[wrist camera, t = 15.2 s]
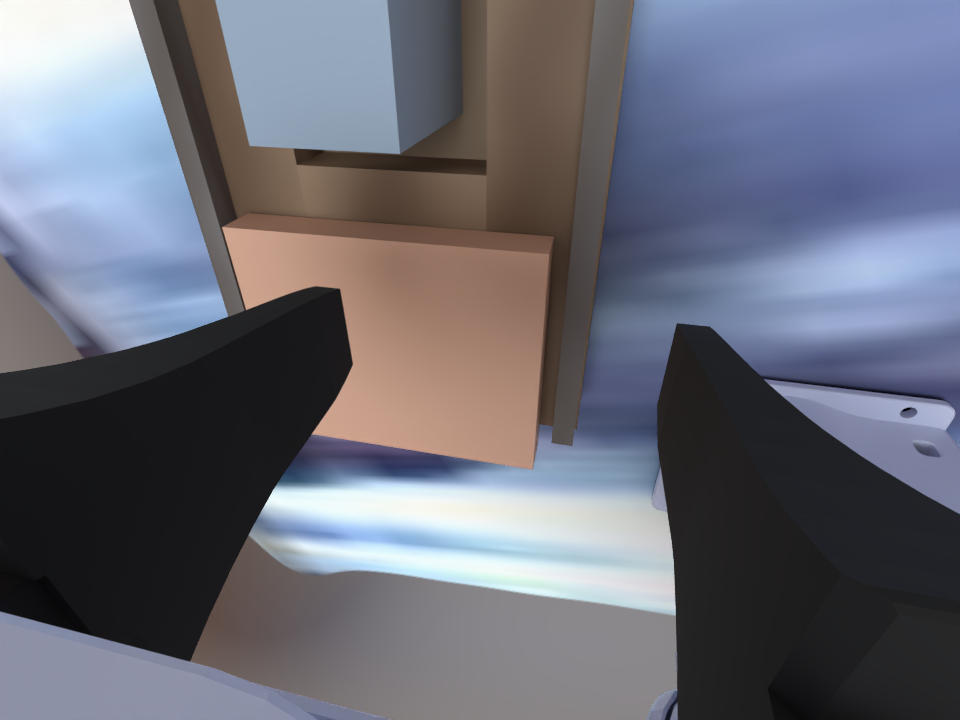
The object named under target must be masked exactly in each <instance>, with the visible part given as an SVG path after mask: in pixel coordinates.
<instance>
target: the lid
mask: <svg viewBox="0 0 960 720" xmlns="http://www.w3.org/2000/svg"><path fill="white" fill-rule="evenodd" d="M222 228H223V232H224V235H225V239H226V242H227V245H228V249H229V252H230V256H231V259H232V263H233V266H234V270H235V273H236V276H237V280H238V283H239V287H240V290H241V294H242V297H243V300H244V304H245V307H246V310H247V309H250V308H253V307H255V306H258V305H260V304H263V303H266V302H268V301H271V300H273V299H276V298H279V297H281V296H284V295H287V294H290V293H293V292H296V291H299V290H302V289H305V288H309V287H314V286H319V287H329V288H338V289H340V291H341V297H342V302H343V308H344V314H345V320H346V326H347V332H348V337H349V343H350V349H351V355H352V361H353V366H352V368H351V370H350V372H349V374H348V377H347V379H346V381H345V383H344V385H343V387H342V389H341V391H340V393H339V395H338V396H337V398H336V400H335V401H334V403H333V404H332V406H331V407H330V409H329V410H328V412H327V413H326V415H325V416H324V417H323V419H322V420H321V422H320V423H319V425H318V426H317V427H316V429H315V430H314V432H313V433H312V434H316V435H322V436H328V437H334V438H340V439H347V440H353V441H359V442H365V443H371V444H378V445H384V446H390V447H396V448H402V449H409V450H415V451H421V452H427V453H433V454H439V455H446V456H452V457H458V458H464V459H470V460H477V461H483V462H489V463H495V464H501V465H508V466H514V467H520V468H526V469H532V470H533V466H534V461H535V455H536V450H537V445H538V435H539V422H540V409H541V397H542V384H543V372H544V359H545V347H546V334H547V322H548V309H549V296H550V284H551V271H552V259H553V246H554V236H542V235H529V234H516V233H502V232H489V231H476V230H463V229H450V228H437V227H424V226H411V225H398V224H385V223H372V222H359V221H345V220H332V219H319V218H306V217H293V216H280V215H267V214H254V213H247V214H246V215H244V216H242V217H240V218H238V219H236V220H234V221H233V222H231V223H229V224H227V225H225V226H223V227H222Z"/></svg>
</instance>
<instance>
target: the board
mask: <svg viewBox="0 0 960 720" xmlns="http://www.w3.org/2000/svg"><path fill="white" fill-rule="evenodd" d="M129 2H130V5H131V8H132V12H133V15H134V18H135V21H136V24H137V27H138V31H139V34H140V37H141V40H142V43H143V46H144V50H145V53H146V56H147V59H148V62H149V66H150V69H151V72H152V75H153V78H154V81H155V85H156V88H157V91H158V94H159V97H160V100H161V104H162V107H163V110H164V113H165V116H166V119H167V123H168V126H169V129H170V132H171V135H172V139H173V142H174V145H175V148H176V151H177V154H178V158H179V161H180V164H181V167H182V170H183V173H184V177H185V180H186V183H187V186H188V189H189V192H190V196H191V199H192V202H193V205H194V208H195V212H196V215H197V218H198V221H199V224H200V227H201V231H202V234H203V237H204V240H205V243H206V246H207V250H208V253H209V256H210V259H211V262H212V265H213V269H214V272H215V275H216V278H217V281H218V285H219V288H220V291H221V294H222V297H223V300H224V304H225V307H226V310H227V313H228V316H232V315H235V314H237V313H240V312H242V311H245V310H246V307H245V304H244V300H243V297H242V294H241V290H240V287H239V283H238V280H237V276H236V273H235V270H234V266H233V263H232V259H231V256H230V252H229V249H228V245H227V242H226V239H225V235H224V232H223V228H222V227H223V226H225V225H227V224H229V223H231V222H233V221H234V220H236V219H238V218H240V217H242V216H244V215H246V214H247V213H254V214H267V215H280V216H293V217H306V218H319V219H332V220H345V221H359V222H372V223H385V224H398V225H411V226H424V227H437V228H450V229H463V230H476V231H489V232H502V233H516V234H529V235H542V236H554V246H553V259H552V271H551V284H550V296H549V309H548V322H547V334H546V347H545V359H544V372H543V384H542V397H541V409H540V422H539V424H542V425H549V426H553V433H552V443H556V444H562V445H569V446H572V443H573V436H574V429H577V423H578V415H579V408H580V400H581V393H582V385H583V378H584V370H585V363H586V355H587V348H588V340H589V333H590V325H591V318H592V311H593V303H594V296H595V288H596V281H597V273H598V266H599V258H600V251H601V243H602V236H603V228H604V221H605V213H606V206H607V198H608V191H609V183H610V176H611V168H612V161H613V154H614V146H615V139H616V131H617V124H618V116H619V109H620V101H621V94H622V86H623V79H624V71H625V64H626V56H627V49H628V41H629V34H630V26H631V19H632V11H633V4H634V0H461V36H462V94H463V114H461V115H460V116H458V117H457V118H455V119H454V120H452V121H450V122H449V123H447V124H446V125H444V126H443V127H441V128H440V129H438V130H436V131H435V132H433V133H432V134H430V135H429V136H427V137H426V138H424V139H422V140H421V141H419V142H418V143H416V144H415V145H413V146H412V147H410V148H409V149H407V150H405V151H404V152H402V153H401V154H391V153H372V152H353V151H335V150H316V149H297V148H278V147H260V146H250V145H249V141H248V137H247V133H246V129H245V124H244V120H243V116H242V112H241V107H240V103H239V99H238V95H237V90H236V86H235V82H234V78H233V73H232V69H231V65H230V61H229V56H228V52H227V48H226V44H225V39H224V35H223V31H222V27H221V23H220V18H219V14H218V10H217V6H216V1H215V0H129Z"/></svg>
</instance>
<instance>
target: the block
mask: <svg viewBox="0 0 960 720" xmlns="http://www.w3.org/2000/svg"><path fill="white" fill-rule="evenodd" d="M215 1H216V6H217V10H218V14H219V18H220V23H221V27H222V31H223V35H224V39H225V44H226V48H227V52H228V56H229V61H230V65H231V69H232V73H233V78H234V82H235V86H236V90H237V95H238V99H239V103H240V107H241V112H242V116H243V120H244V124H245V129H246V133H247V137H248V141H249V145H250V146H260V147H278V148H297V149H316V150H335V151H353V152H372V153H391V154H401V153H402V152H404V151H405V150H407V149H409V148H410V147H412V146H413V145H415V144H416V143H418V142H419V141H421V140H422V139H424V138H426V137H427V136H429V135H430V134H432V133H433V132H435V131H436V130H438V129H440V128H441V127H443V126H444V125H446V124H447V123H449V122H450V121H452V120H454V119H455V118H457V117H458V116H460V115H461V114H463V94H462V36H461V0H215Z"/></svg>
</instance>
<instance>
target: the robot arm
mask: <svg viewBox="0 0 960 720" xmlns="http://www.w3.org/2000/svg"><path fill="white" fill-rule="evenodd" d="M352 366H353V361H352V355H351V349H350V343H349V337H348V332H347V326H346V320H345V314H344V308H343V302H342V297H341V291H340V289H338V288H329V287H319V286H314V287H309V288H305V289H302V290H299V291H296V292H293V293H290V294H287V295H284V296H281V297H279V298H276V299H273V300H271V301H268V302H266V303H263V304H260V305H258V306H255V307H253V308H250V309H247V310H245V311H242V312H240V313H237V314H235V315H232V316H229V317H227V318H224V319H221V320H218V321H215V322H213V323H210V324H207V325H204V326H201V327H198V328H196V329H193V330H190V331H187V332H184V333H181V334H178V335H175V336H172V337H169V338H165V339H162V340H159V341H155V342H152V343H148V344H144V345H141V346H137V347H134V348H130V349H126V350H122V351H118V352H114V353H109V354H104V355H100V356H95V357H90V358H86V359H81V360H76V361H72V362H67V363H63V364H57V365H51V366H46V367H39V368H34V369H27V370H21V371H14V372H7V373H1V374H0V720H392V719H388V718H384V717H380V716H377V715H373V714H369V713H365V712H362V711H358V710H354V709H350V708H346V707H343V706H339V705H335V704H331V703H327V702H324V701H320V700H316V699H312V698H309V697H305V696H301V695H298V694H294V693H290V692H286V691H283V690H278V689H275V688H271V687H267V686H263V685H260V684H256V683H252V682H249V681H246V680H243V679H241V678H238V677H235V676H233V675H230V674H228V673H225V672H223V671H220V670H217V669H215V668H212V667H208V666H204V665H200V664H196V663H193V662H190V660H191V658H192V655H193V653H194V651H195V648H196V646H197V644H198V641H199V639H200V636H201V634H202V632H203V629H204V627H205V625H206V622H207V620H208V617H209V615H210V613H211V611H212V609H213V607H214V604H215V602H216V600H217V598H218V596H219V594H220V592H221V589H222V587H223V585H224V583H225V581H226V579H227V577H228V574H229V572H230V570H231V568H232V566H233V564H234V562H235V560H236V558H237V556H238V554H239V552H240V550H241V548H242V547H243V545H244V543H245V541H246V539H247V537H248V535H249V533H250V531H251V529H252V527H253V525H254V523H255V522H256V520H257V518H258V516H259V514H260V513H261V511H262V509H263V507H264V505H265V504H266V502H267V500H268V498H269V496H270V495H271V493H272V491H273V489H274V488H275V486H276V485H277V483H278V482H279V480H280V478H281V477H282V475H283V474H284V472H285V471H286V469H287V468H288V467H289V465H290V464H291V462H292V461H293V460H294V458H295V457H296V455H297V454H298V453H299V451H300V450H301V448H302V447H303V446H304V444H305V443H306V441H307V440H308V439H309V437H310V436H311V434H312V433H313V432H314V430H315V429H316V427H317V426H318V425H319V423H320V422H321V420H322V419H323V417H324V416H325V415H326V413H327V412H328V410H329V409H330V407H331V406H332V404H333V403H334V401H335V400H336V398H337V396H338V395H339V393H340V391H341V389H342V387H343V385H344V383H345V381H346V379H347V377H348V374H349V372H350V370H351V368H352ZM907 407H912V408H911V409H910V410H908V411H905V412H901V411H902V410H903V409H905V408H907ZM954 416H955V410H954V409H953V407H952V406H951V405H950V404H949V403H948V402H946V401H942V400H935V399H926V398H918V397H910V396H901V395H893V394H884V393H876V392H868V391H859V390H851V389H842V388H834V387H825V386H817V385H809V384H800V383H792V382H783V381H775V380H767V379H763V378H762V377H761V376H760V375H759V374H758V373H757V372H756V371H755V370H753V369H752V368H751V367H750V366H749V365H748V364H747V363H746V362H745V361H744V360H743V359H742V358H741V357H740V356H739V355H738V354H737V353H736V352H735V351H734V350H733V349H732V348H731V347H730V346H729V345H728V344H727V343H726V342H725V341H724V340H723V339H722V338H721V337H720V336H719V335H718V334H717V333H716V332H715V331H714V330H713V329H712V328H711V327H707V326H697V325H687V324H678V323H677V326H676V330H675V334H674V338H673V342H672V346H671V351H670V355H669V359H668V363H667V367H666V371H665V375H664V380H663V384H662V388H661V392H660V396H659V400H658V404H657V435H658V452H659V459H660V469H659V472H658V476H657V480H656V484H655V487H654V491H653V495H652V505H653V506H654V507H655V508H656V509H658V510H661V511H667V513H668V520H669V526H670V533H671V539H672V548H673V558H674V575H675V601H676V635H677V652H676V654H675V655H676V666H677V689H673V690H669V691H667V692H665V693H663V694H661V695H660V696H659V697H658V698H657V699H656V700H655V701H654V703H653V705H652V707H651V709H650V711H649V713H648V716H647V720H960V448H959V447H958V446H957V444H956V443H955V442H954V440H953V439H952V438H951V437H950V435H949V434H948V433H947V431H946V429H947V428H948V426H949V425H950V423H951V422H952V420H953V419H954Z"/></svg>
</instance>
